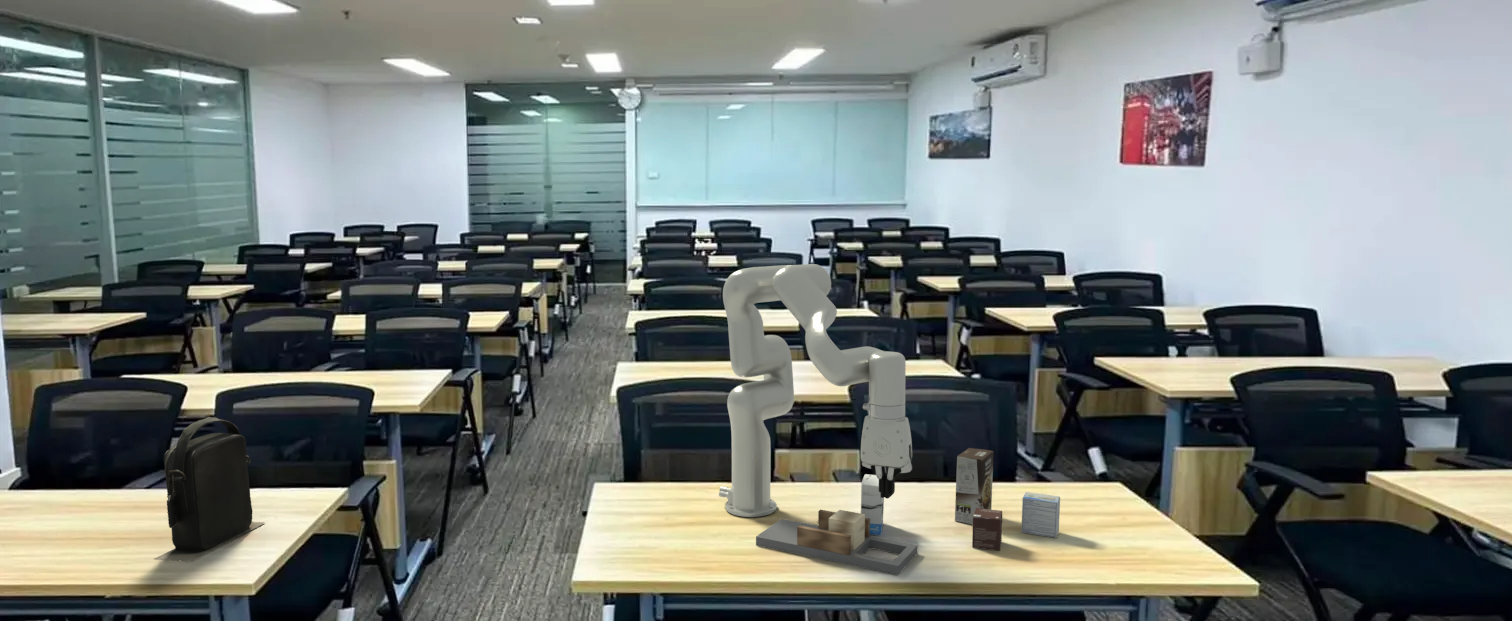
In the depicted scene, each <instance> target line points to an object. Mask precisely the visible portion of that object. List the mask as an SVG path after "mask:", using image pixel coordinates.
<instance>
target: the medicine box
mask: <svg viewBox="0 0 1512 621" xmlns="http://www.w3.org/2000/svg"><path fill="white" fill-rule="evenodd" d="M1021 500H1022V506H1021V530H1020V531H1021V532H1020V533H1021V534H1029V535H1034V536H1043V537H1047V538H1048V537H1049V538H1055V539H1057V537H1058V535H1059V532H1060V511H1061V510H1060V509H1061V497H1060V496H1058V495H1053V494H1052V495H1051V494H1044V493H1038V492H1029V491H1025V493H1024V495H1023V497H1022V499H1021Z"/></svg>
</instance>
